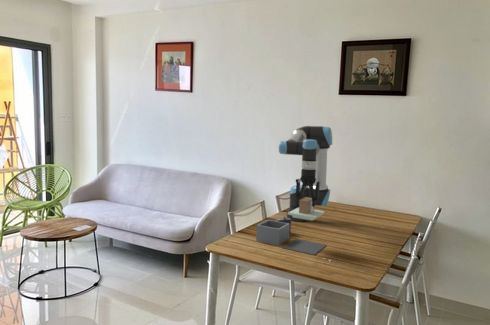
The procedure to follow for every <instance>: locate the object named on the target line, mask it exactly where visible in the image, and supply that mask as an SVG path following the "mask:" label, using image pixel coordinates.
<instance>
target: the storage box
mask: <svg viewBox="0 0 490 325" xmlns="http://www.w3.org/2000/svg"><path fill="white" fill-rule="evenodd" d="M289 228H290V224H289V223H283V222H278V221H277V220H273V219H272V220H271V219H266V220H265V221H262V222H261V223H258V224H257V225H256V235H255V236H256V237H255V238H256V239H255V240H256V241H257V242H259V243H260V242H261V243H265V244H270V245H275V246H280V245H281V244H283V243H284V242H286V241H288V240H289V239H290V234H289Z"/></svg>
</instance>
